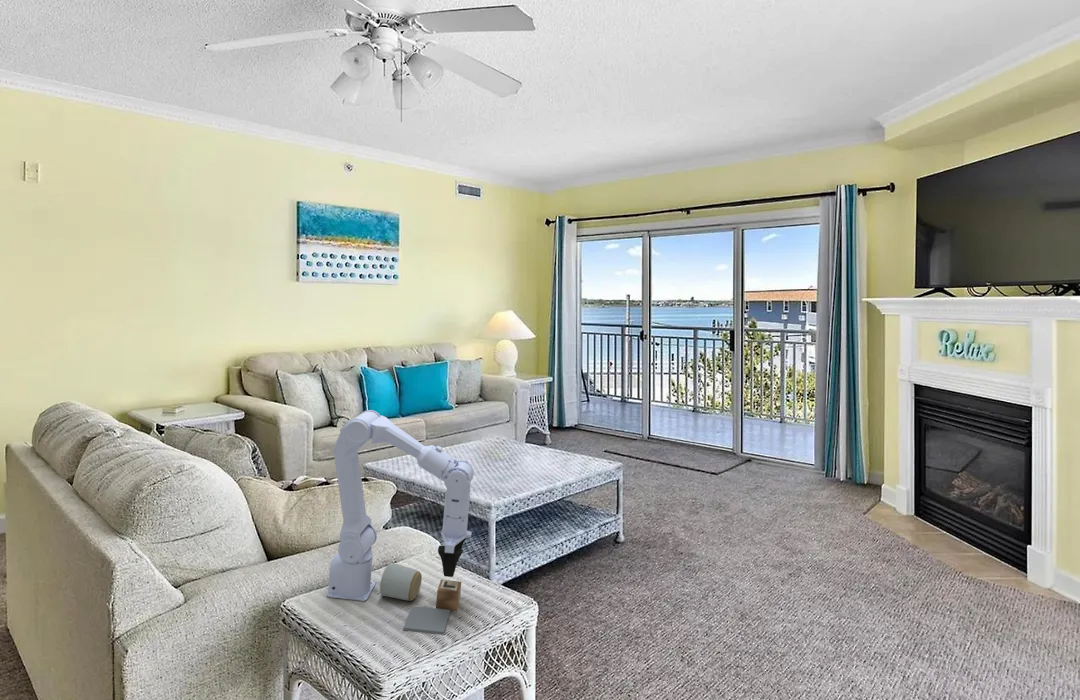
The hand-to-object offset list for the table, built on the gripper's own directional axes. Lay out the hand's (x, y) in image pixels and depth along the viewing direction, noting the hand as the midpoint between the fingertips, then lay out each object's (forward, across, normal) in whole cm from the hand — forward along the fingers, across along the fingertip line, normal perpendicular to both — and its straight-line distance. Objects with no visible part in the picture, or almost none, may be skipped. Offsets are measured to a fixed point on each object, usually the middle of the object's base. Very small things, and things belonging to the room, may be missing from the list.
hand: (451, 568), depth 149 cm
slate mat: (+9, -8, +4) cm, 13 cm away
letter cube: (+10, 0, 0) cm, 10 cm away
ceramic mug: (+10, +3, +12) cm, 16 cm away
